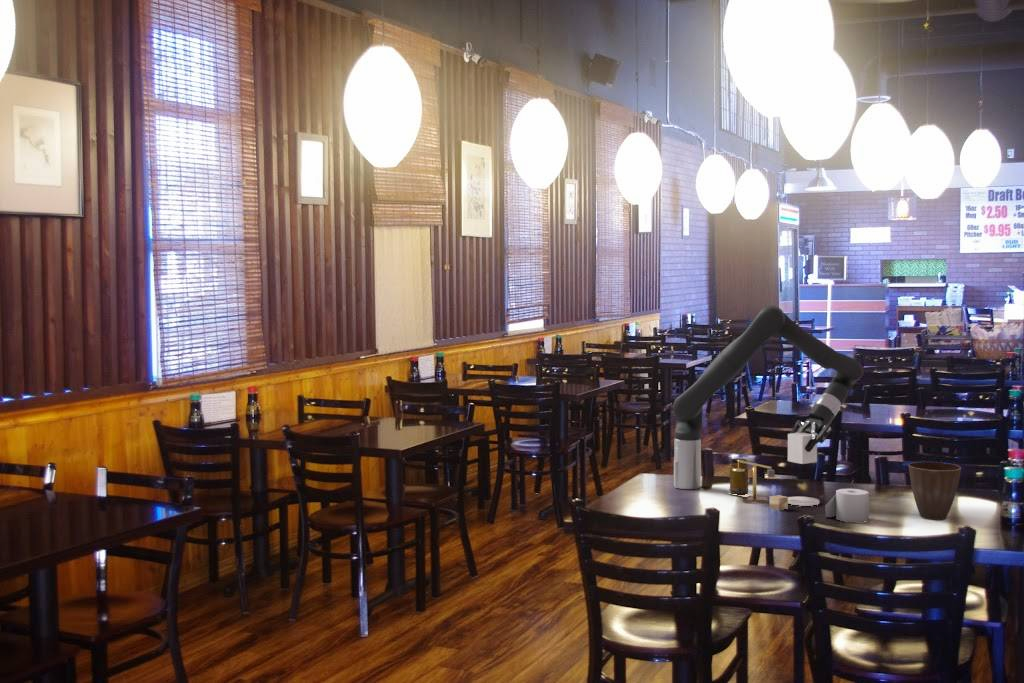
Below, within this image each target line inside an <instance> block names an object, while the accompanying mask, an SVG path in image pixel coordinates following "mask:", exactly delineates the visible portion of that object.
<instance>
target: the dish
mask: <svg viewBox="0 0 1024 683" xmlns="http://www.w3.org/2000/svg"><path fill="white" fill-rule="evenodd" d="M787 497H788V504H791V505H790V506H792V505H799V506H798V507H801V506H811V507H814V506H813V505H817V506H819V505H820V499H818V498H816V497H810V496H809V497H808V496H797V495H796V496H787ZM818 504H819V505H818Z"/></svg>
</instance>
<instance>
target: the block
mask: <svg viewBox="0 0 1024 683" xmlns="http://www.w3.org/2000/svg"><path fill="white" fill-rule="evenodd" d="M788 497H789V496H785V495H784V496H783V495H779V494H777V495H769V509H770V508H771V509H770V510H774V509H775V510H774V511H777V510H781V511H785V510H784V509H787V510H788V509H789V505H788Z"/></svg>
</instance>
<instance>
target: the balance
mask: <svg viewBox="0 0 1024 683" xmlns="http://www.w3.org/2000/svg"><path fill="white" fill-rule="evenodd" d="M739 462H741V463H745V464H747V465H750V466H751V465H752V494H753V496H750V497H740V500H741V499H742V500H741V501H743V502H759V503H758V504H768V503H769V499H768V498H767V497H766V496H757V495H756V494H757V469H758V468H757V467H760V468H764V469H767V471H766V472H767V473H766V474H765V475H764V478H765V479H769V480H770V479H771V480H773V479H774V480H775V479H778V475H776V474H775V470H774V469H772V466H768V465H764V464H759V463H755V462H749V461H747V462H746V461H742V460H738V468H733V469H732V471H735V472H744V471H745V469H742V468H739ZM743 502H742V503H743ZM760 502H761V503H760Z"/></svg>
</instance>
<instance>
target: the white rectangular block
mask: <svg viewBox="0 0 1024 683" xmlns="http://www.w3.org/2000/svg"><path fill="white" fill-rule="evenodd" d="M802 432H803V433H796V432H795V433H791V434H790V433H787V462H790V463H794V464H801V465H805V464H813V463H817V462H818V443H817V444H815V446H814V447H813V449H812V450H811V451H810V452H807V451H806V450H805V446H806V445H807V443H808V442H809V440H810V439H811V437H812V436H813V435H812V434H810V433H805V432H804V431H802ZM811 440H812V439H811Z"/></svg>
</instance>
